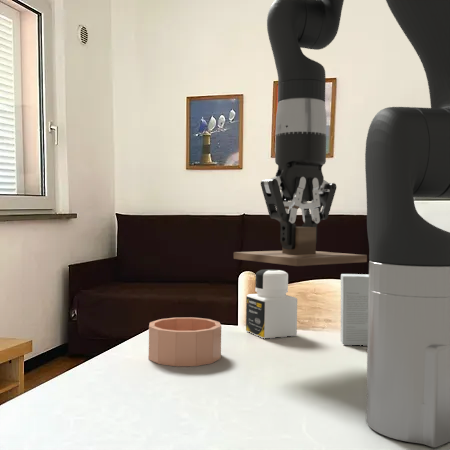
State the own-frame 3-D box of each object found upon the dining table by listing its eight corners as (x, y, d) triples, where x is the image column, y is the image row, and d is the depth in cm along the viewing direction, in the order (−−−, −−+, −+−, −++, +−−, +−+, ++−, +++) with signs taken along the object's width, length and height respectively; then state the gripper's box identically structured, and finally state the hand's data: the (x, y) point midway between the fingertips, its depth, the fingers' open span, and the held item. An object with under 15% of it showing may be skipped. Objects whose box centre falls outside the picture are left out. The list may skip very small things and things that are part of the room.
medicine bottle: (245, 331, 102) (246, 268, 101) (277, 328, 105) (278, 267, 104) (263, 339, 95) (264, 272, 95) (297, 336, 98) (298, 271, 98)
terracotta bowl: (234, 359, 82) (234, 326, 82) (171, 370, 75) (172, 335, 75) (195, 344, 91) (195, 315, 91) (136, 353, 84) (136, 321, 84)
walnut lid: (366, 261, 78) (367, 227, 78) (296, 266, 70) (297, 228, 70) (300, 255, 90) (300, 226, 90) (233, 258, 82) (233, 226, 82)
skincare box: (373, 341, 95) (375, 274, 95) (378, 347, 91) (379, 276, 91) (339, 340, 96) (340, 273, 96) (342, 345, 91) (343, 275, 91)
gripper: (282, 125, 73) (280, 251, 73) (352, 135, 81) (350, 249, 81) (247, 131, 79) (246, 248, 79) (316, 140, 87) (314, 246, 87)
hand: (298, 248), depth 80 cm, fingers closed on walnut lid, 3 cm apart
